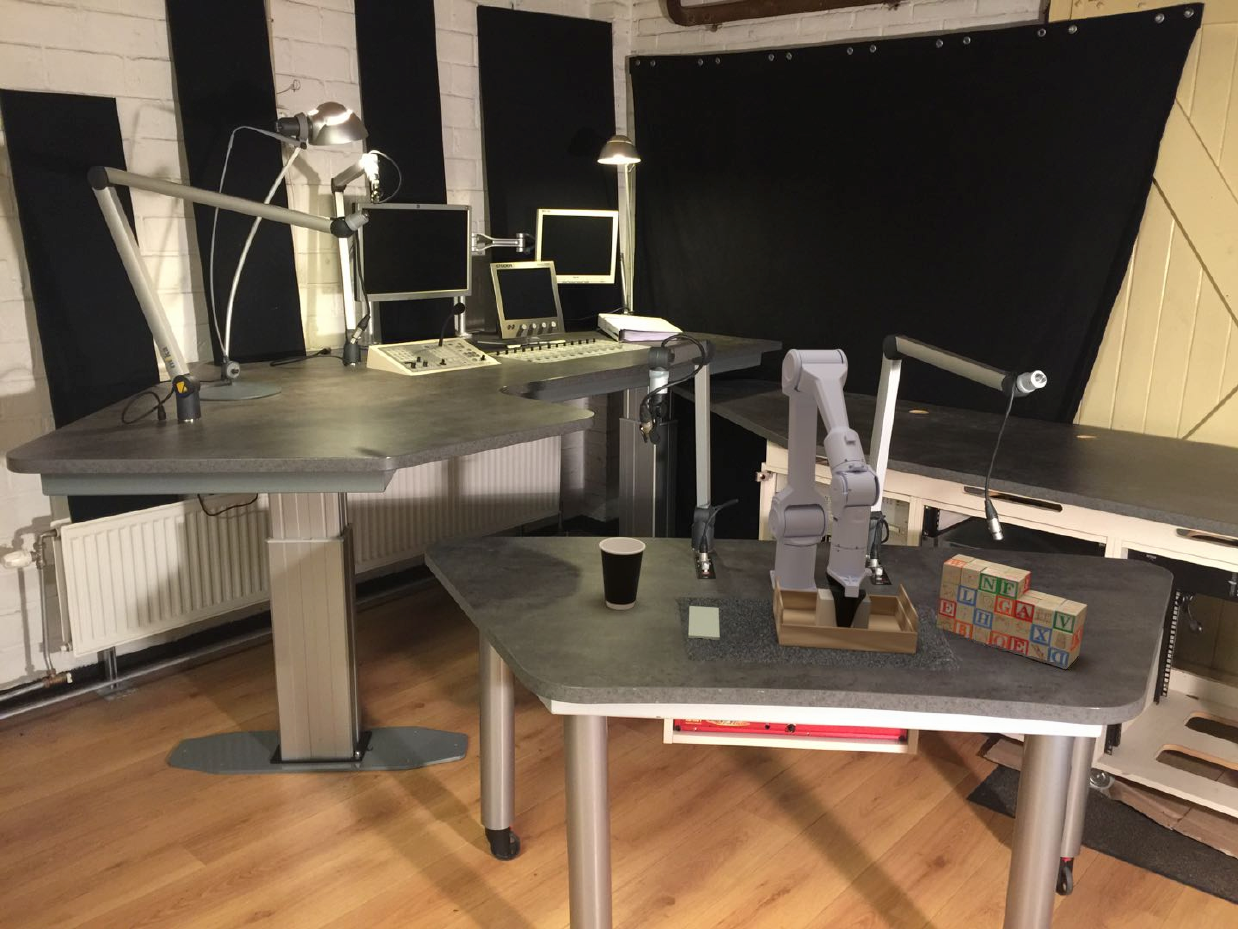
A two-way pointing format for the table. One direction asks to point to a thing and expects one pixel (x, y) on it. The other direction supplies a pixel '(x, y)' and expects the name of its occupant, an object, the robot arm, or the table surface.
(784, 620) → the wooden crate
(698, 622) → the panel
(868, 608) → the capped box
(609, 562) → the dixie cup
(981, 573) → the stack of blocks
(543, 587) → the table surface
